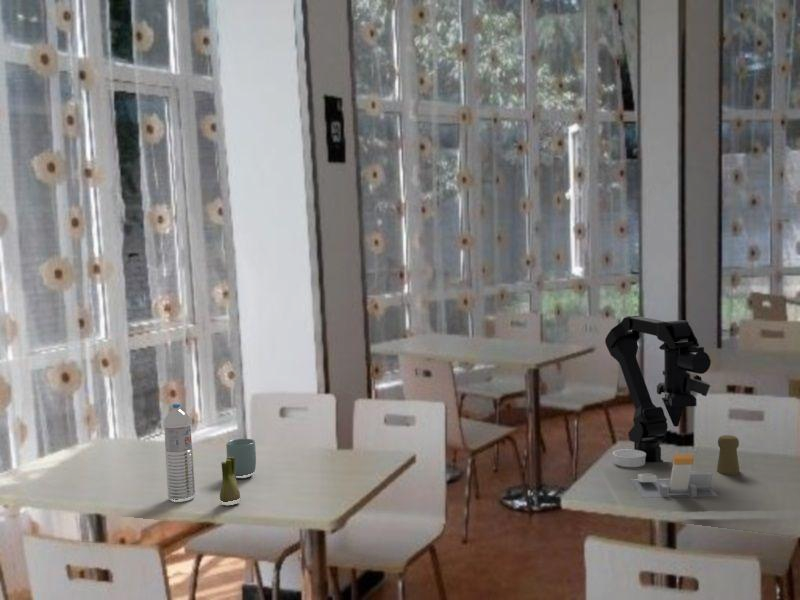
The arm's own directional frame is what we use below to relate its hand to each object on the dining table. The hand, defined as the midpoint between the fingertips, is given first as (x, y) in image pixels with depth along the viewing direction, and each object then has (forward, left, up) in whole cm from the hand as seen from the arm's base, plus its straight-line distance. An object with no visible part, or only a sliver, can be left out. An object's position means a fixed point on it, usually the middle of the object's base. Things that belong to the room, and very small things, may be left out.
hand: (675, 426), depth 234 cm
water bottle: (-76, -106, -13) cm, 131 cm away
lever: (+13, -19, -10) cm, 25 cm away
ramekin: (-12, -4, -13) cm, 18 cm away
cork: (+11, +7, -13) cm, 19 cm away
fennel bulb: (-63, -99, -13) cm, 118 cm away
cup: (-82, -85, -13) cm, 119 cm away
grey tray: (+8, -14, -13) cm, 21 cm away
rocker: (+3, -17, -10) cm, 20 cm away
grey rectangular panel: (+14, -12, -11) cm, 21 cm away
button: (+10, -9, -12) cm, 18 cm away
